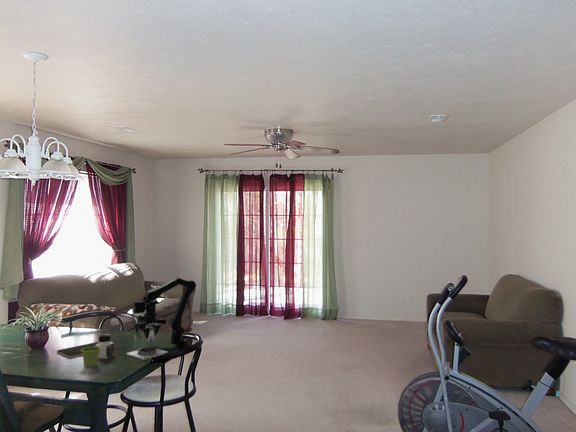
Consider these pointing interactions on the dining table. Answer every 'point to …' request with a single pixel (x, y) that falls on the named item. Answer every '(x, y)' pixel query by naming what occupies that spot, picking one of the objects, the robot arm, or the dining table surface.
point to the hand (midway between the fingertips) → (150, 337)
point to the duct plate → (143, 357)
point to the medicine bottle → (105, 346)
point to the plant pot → (90, 356)
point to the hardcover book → (75, 350)
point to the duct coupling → (151, 334)
